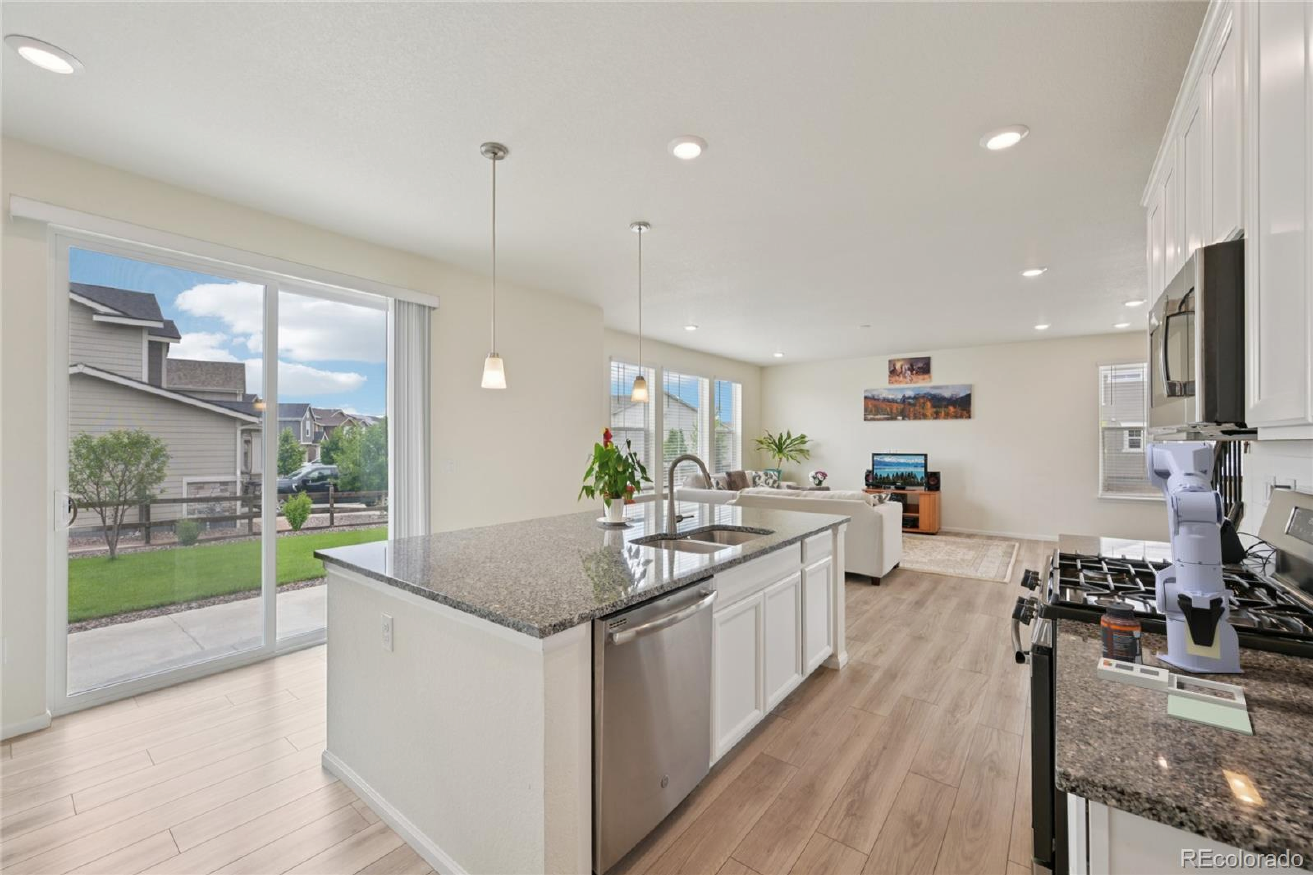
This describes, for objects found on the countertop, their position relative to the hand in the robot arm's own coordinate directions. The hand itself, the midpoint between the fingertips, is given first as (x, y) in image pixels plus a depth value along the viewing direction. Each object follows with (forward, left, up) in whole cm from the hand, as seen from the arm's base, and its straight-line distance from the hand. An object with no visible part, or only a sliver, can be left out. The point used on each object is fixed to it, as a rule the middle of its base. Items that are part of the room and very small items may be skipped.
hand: (1202, 641), depth 93 cm
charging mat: (+6, +8, -9) cm, 13 cm away
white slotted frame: (+4, -3, -9) cm, 10 cm away
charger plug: (0, 0, -2) cm, 2 cm away
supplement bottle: (+4, -12, -9) cm, 16 cm away
